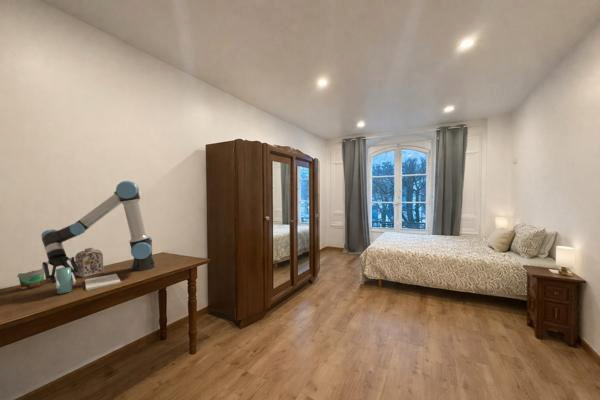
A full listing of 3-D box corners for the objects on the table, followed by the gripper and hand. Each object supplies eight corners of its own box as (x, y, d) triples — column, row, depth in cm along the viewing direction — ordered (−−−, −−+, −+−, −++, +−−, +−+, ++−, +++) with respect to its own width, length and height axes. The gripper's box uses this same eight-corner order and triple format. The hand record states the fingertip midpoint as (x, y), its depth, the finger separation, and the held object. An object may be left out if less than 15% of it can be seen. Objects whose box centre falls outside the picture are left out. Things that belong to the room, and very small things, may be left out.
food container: (25, 291, 138) (25, 274, 138) (17, 290, 139) (17, 273, 139) (51, 283, 150) (51, 267, 150) (44, 283, 151) (43, 267, 151)
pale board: (116, 275, 164) (116, 273, 164) (120, 283, 150) (120, 281, 150) (84, 281, 153) (84, 279, 153) (86, 290, 139) (86, 288, 139)
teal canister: (72, 288, 140) (70, 266, 140) (72, 291, 136) (70, 268, 136) (57, 291, 136) (56, 268, 136) (57, 294, 132) (55, 271, 132)
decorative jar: (104, 272, 171) (103, 247, 170) (83, 277, 161) (82, 250, 160) (95, 270, 176) (94, 245, 176) (75, 275, 166) (74, 249, 166)
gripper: (75, 252, 152) (86, 283, 144) (31, 260, 136) (40, 295, 128) (78, 245, 149) (89, 275, 141) (33, 252, 133) (43, 287, 125)
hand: (66, 285), depth 134 cm, fingers closed on teal canister, 6 cm apart
